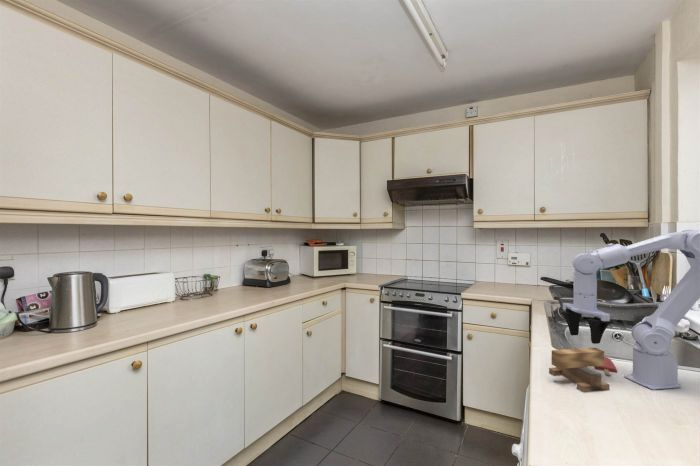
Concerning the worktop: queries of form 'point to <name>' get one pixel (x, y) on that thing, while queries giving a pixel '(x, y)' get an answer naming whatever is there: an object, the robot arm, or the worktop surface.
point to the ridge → (582, 378)
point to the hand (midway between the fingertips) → (584, 338)
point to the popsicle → (607, 366)
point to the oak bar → (577, 358)
